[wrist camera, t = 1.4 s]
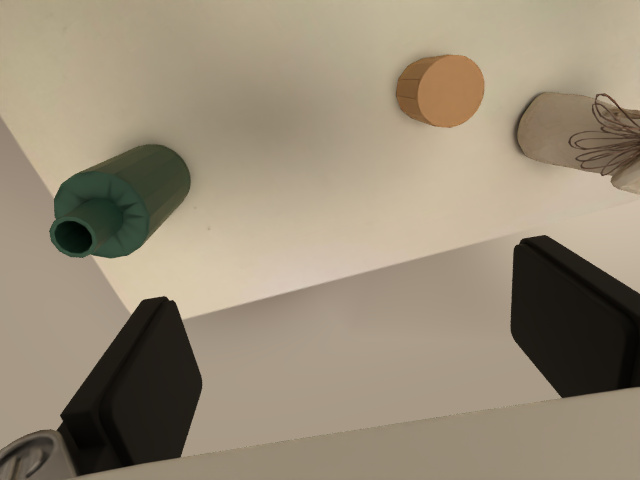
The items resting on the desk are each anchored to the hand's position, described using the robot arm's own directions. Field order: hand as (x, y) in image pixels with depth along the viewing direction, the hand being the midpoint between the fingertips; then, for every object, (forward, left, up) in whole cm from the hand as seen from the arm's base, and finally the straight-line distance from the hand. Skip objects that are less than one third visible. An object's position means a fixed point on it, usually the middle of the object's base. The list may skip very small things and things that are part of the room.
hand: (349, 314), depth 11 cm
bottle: (-11, -12, -31) cm, 34 cm away
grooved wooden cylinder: (+6, +10, -31) cm, 33 cm away
